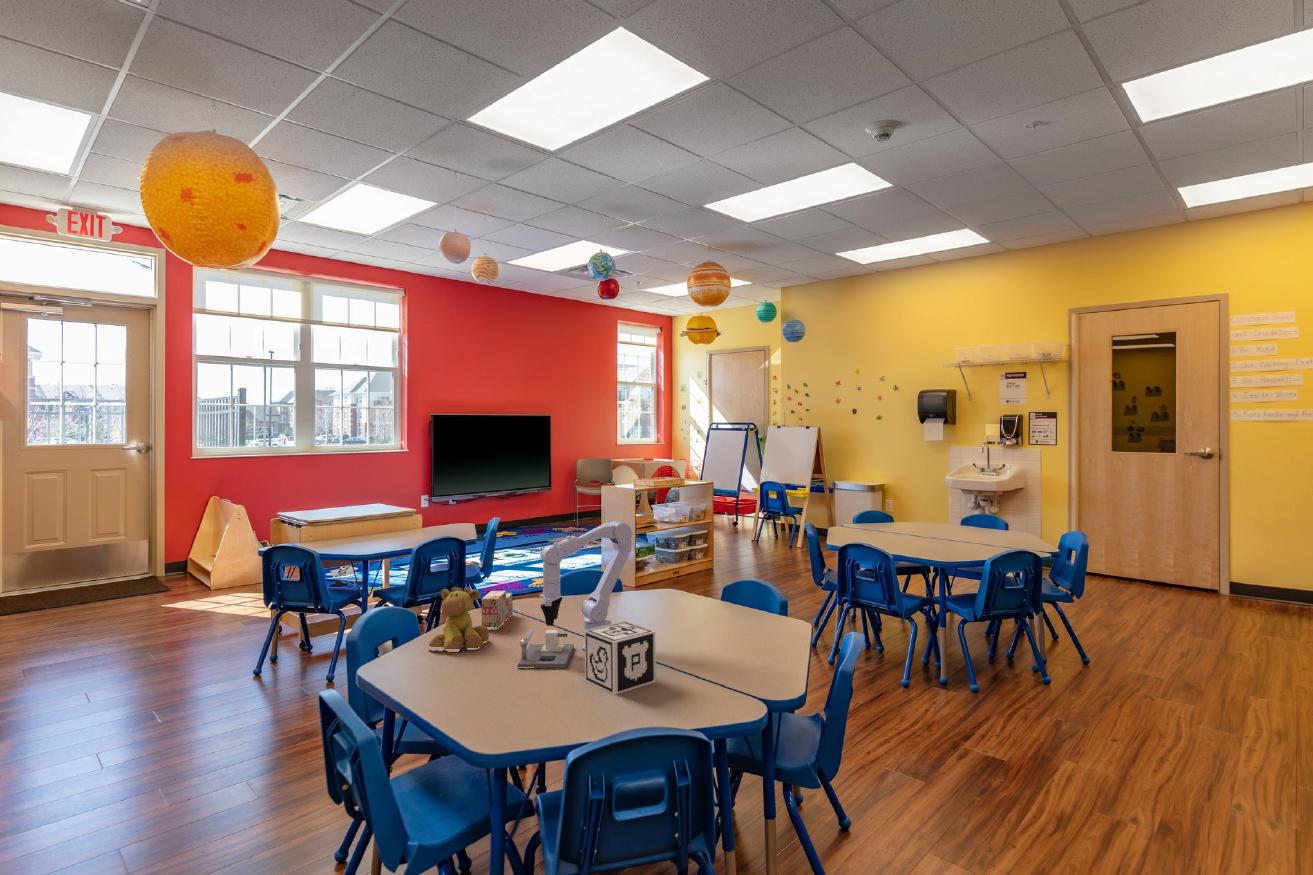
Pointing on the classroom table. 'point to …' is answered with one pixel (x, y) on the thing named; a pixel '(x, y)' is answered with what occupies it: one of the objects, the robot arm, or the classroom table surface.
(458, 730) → the classroom table surface
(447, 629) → the giraffe plush
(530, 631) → the ball-topped lever
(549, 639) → the plug
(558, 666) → the socket plate
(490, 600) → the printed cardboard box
